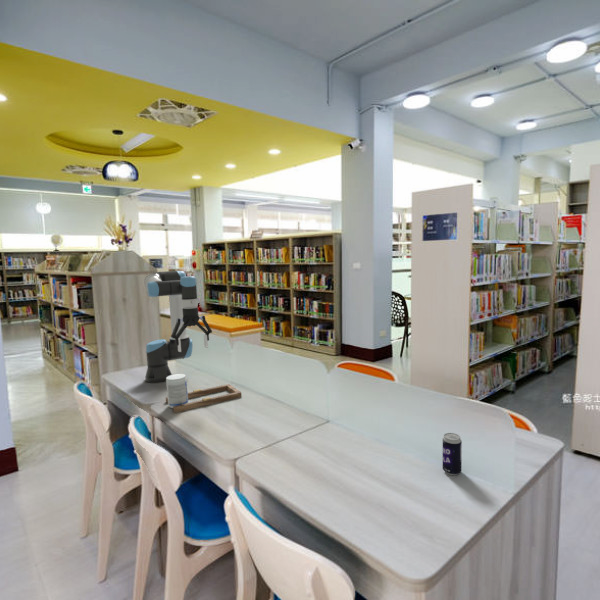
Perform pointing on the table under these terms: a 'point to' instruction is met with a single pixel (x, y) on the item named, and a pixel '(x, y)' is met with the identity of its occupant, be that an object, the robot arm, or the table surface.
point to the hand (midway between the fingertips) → (193, 349)
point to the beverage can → (452, 453)
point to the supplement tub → (176, 390)
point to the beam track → (208, 400)
